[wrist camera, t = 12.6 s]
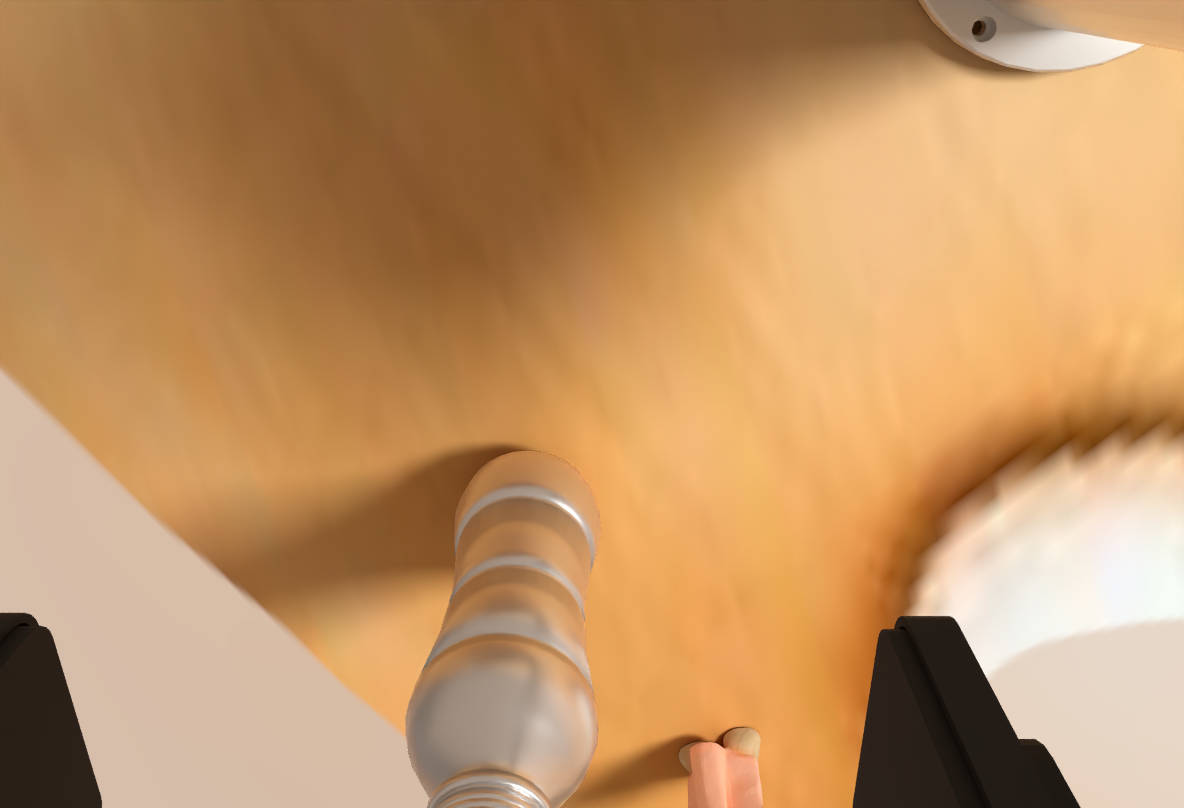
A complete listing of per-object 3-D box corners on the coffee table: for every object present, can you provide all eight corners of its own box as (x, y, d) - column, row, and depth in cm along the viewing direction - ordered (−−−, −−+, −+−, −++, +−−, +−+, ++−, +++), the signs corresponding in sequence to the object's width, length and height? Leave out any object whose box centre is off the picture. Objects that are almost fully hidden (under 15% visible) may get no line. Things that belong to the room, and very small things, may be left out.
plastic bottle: (599, 431, 43) (596, 776, 25) (602, 557, 46) (602, 948, 28) (456, 434, 43) (351, 779, 25) (468, 560, 46) (382, 950, 28)
